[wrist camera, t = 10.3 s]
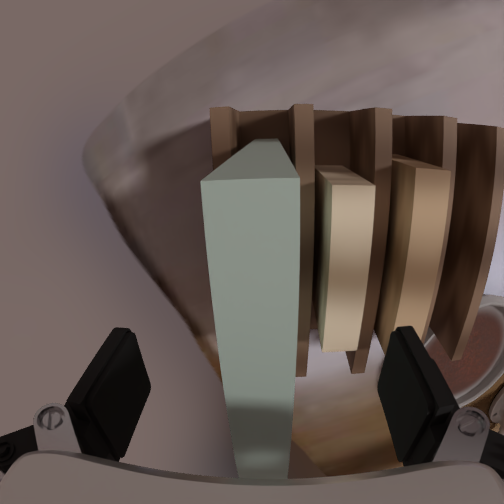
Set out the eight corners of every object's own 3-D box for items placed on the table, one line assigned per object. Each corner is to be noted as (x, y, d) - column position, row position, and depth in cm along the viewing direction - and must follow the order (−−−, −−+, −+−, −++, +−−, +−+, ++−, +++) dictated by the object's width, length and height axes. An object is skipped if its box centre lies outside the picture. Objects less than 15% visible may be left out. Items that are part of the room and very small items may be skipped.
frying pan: (575, 314, 25) (420, 435, 32) (564, 305, 27) (413, 420, 34) (572, 210, 20) (376, 364, 27) (556, 203, 23) (368, 346, 30)
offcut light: (336, 288, 26) (356, 350, 18) (309, 289, 26) (322, 352, 19) (341, 165, 22) (375, 185, 15) (312, 164, 22) (332, 184, 15)
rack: (430, 314, 27) (460, 359, 21) (240, 323, 29) (232, 376, 22) (456, 124, 21) (507, 129, 14) (227, 113, 22) (209, 107, 16)
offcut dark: (384, 297, 26) (416, 355, 18) (360, 298, 26) (386, 359, 19) (397, 154, 21) (450, 170, 14) (370, 152, 22) (415, 167, 14)
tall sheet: (280, 311, 27) (282, 520, 10) (261, 311, 27) (246, 519, 10) (277, 138, 22) (299, 177, 5) (255, 139, 22) (200, 181, 5)
